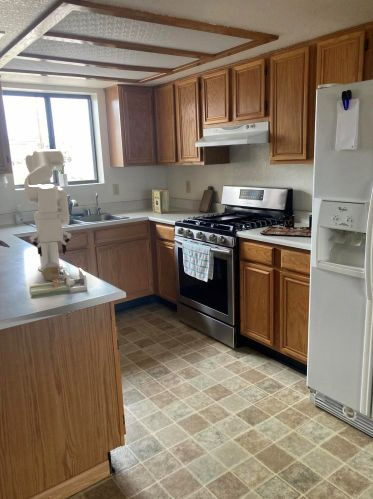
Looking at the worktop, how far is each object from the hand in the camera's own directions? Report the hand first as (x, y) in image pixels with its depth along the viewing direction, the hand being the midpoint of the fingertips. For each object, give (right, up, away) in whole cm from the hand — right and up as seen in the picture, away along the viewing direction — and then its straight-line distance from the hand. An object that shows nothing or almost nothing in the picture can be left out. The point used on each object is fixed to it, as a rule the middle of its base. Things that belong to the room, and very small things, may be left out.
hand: (52, 254), depth 178 cm
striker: (+1, -14, +2) cm, 14 cm away
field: (-2, -16, +2) cm, 16 cm away
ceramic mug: (-6, -12, +21) cm, 25 cm away
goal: (+8, -15, +6) cm, 18 cm away
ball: (+6, -13, +5) cm, 15 cm away
